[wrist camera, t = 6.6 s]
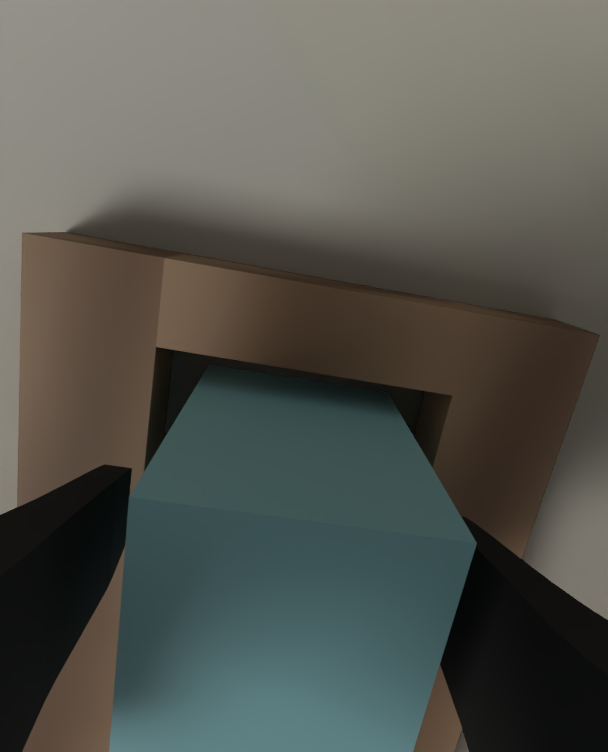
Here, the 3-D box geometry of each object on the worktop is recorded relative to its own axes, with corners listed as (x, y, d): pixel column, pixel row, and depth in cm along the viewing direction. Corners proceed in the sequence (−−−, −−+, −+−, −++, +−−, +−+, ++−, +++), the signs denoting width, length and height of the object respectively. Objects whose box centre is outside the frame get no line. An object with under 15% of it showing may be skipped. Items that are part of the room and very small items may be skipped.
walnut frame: (555, 319, 13) (599, 335, 11) (390, 833, 19) (401, 901, 17) (63, 232, 12) (21, 232, 11) (40, 799, 18) (10, 867, 16)
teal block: (387, 391, 14) (476, 543, 7) (353, 544, 15) (401, 789, 9) (209, 364, 14) (128, 496, 7) (190, 522, 15) (108, 761, 8)
